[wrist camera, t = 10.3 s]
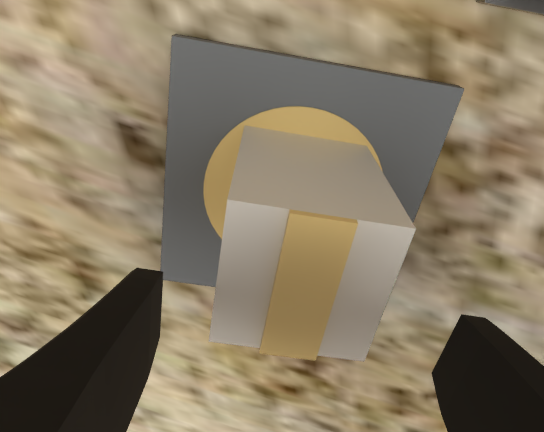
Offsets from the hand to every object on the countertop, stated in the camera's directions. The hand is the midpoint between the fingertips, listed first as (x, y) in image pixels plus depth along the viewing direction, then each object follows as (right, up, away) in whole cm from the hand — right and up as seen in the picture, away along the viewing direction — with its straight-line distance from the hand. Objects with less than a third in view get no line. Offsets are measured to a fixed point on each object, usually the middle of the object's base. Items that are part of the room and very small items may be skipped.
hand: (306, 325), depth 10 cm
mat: (0, +4, +7) cm, 8 cm away
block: (0, +4, +6) cm, 7 cm away
